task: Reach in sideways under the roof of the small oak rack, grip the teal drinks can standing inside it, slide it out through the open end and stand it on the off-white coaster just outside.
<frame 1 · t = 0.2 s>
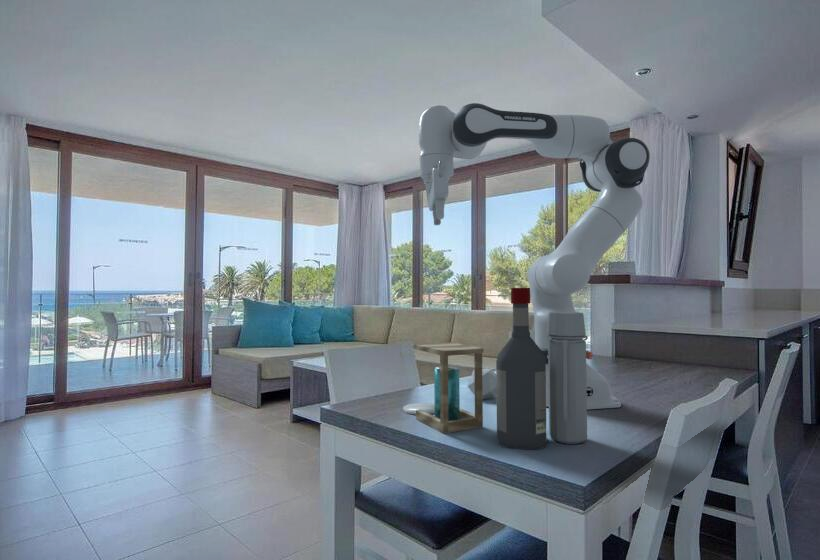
hand: (438, 221, 123), 47 cm above the table, tool pointing down, fingers open, 8 cm apart
water bottle: (567, 441, 92), on the table
liquor: (521, 442, 91), on the table
can: (447, 422, 105), on the table
die: (484, 398, 128), on the table
coaster: (421, 410, 116), on the table
rack: (447, 422, 105), on the table
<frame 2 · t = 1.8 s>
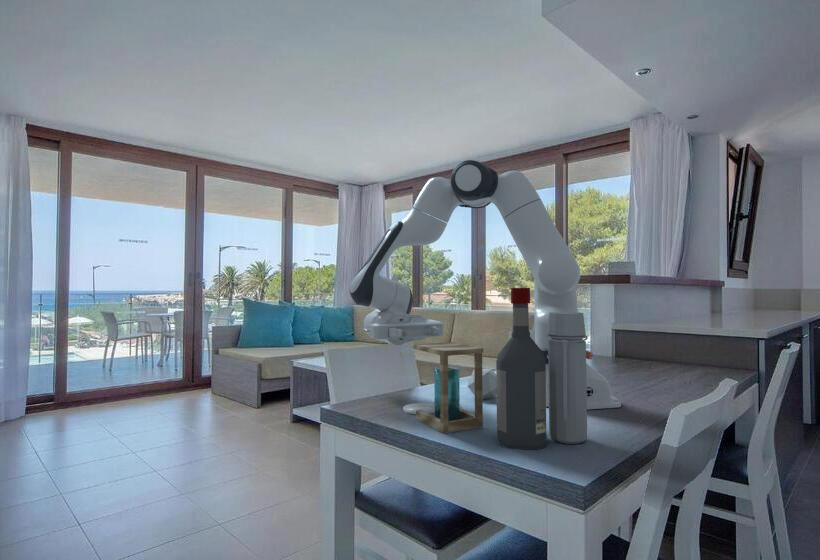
hand: (420, 332, 116), 19 cm above the table, tool horizontal, fingers open, 8 cm apart
nothing on the table moved.
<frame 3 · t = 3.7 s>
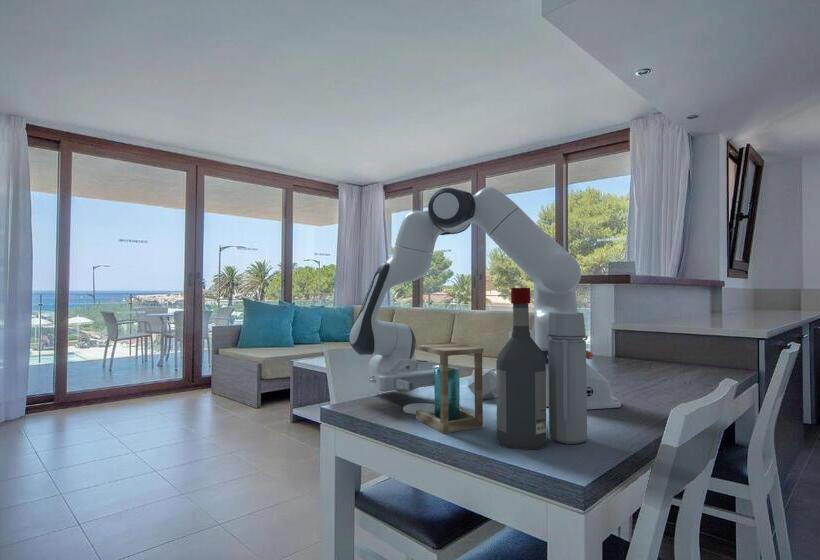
hand: (427, 384, 113), 7 cm above the table, tool horizontal, fingers open, 8 cm apart
nothing on the table moved.
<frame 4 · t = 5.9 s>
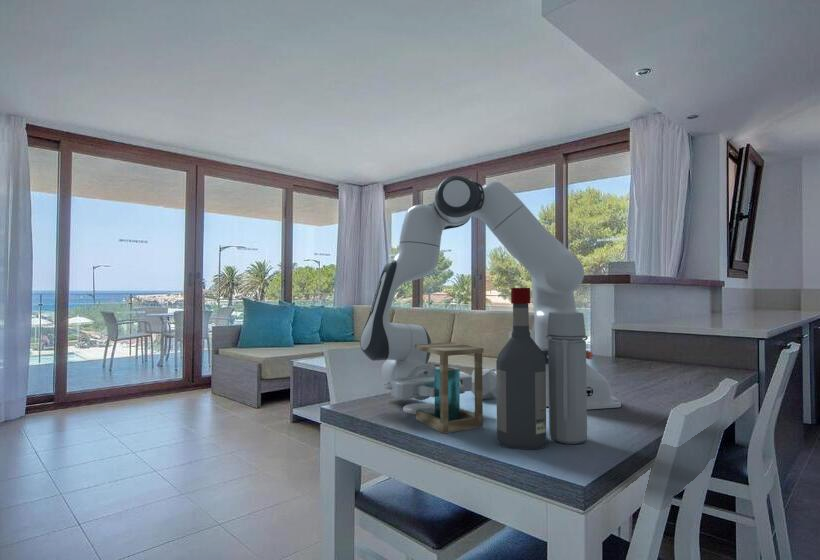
hand: (449, 391, 104), 7 cm above the table, tool horizontal, fingers closed on can, 6 cm apart
can: (447, 422, 105), on the table, touching gripper
everything else where it was.
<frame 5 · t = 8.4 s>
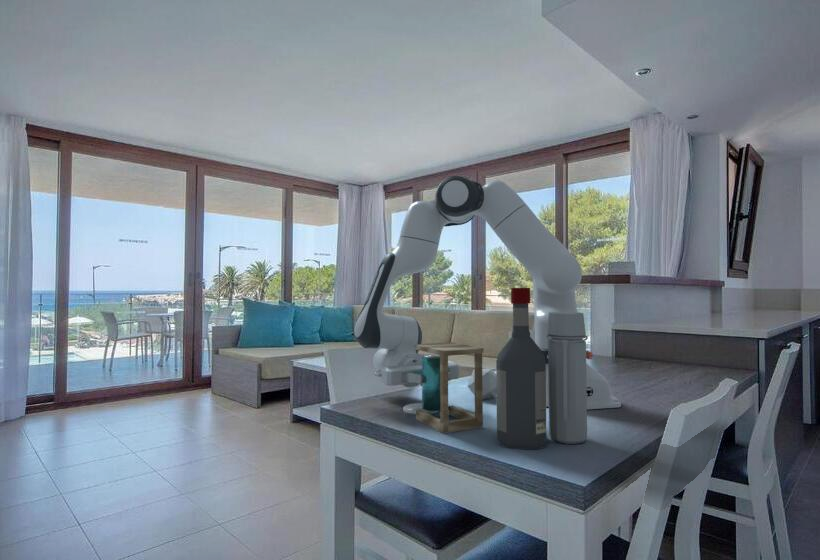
hand: (435, 378, 109), 9 cm above the table, tool horizontal, fingers closed on can, 6 cm apart
can: (433, 407, 110), point 2 cm above the table, touching gripper
everything else where it was.
when the fingers open (8 cm above the table, at t = 10.7 s): can stays where it is, resting on coaster.
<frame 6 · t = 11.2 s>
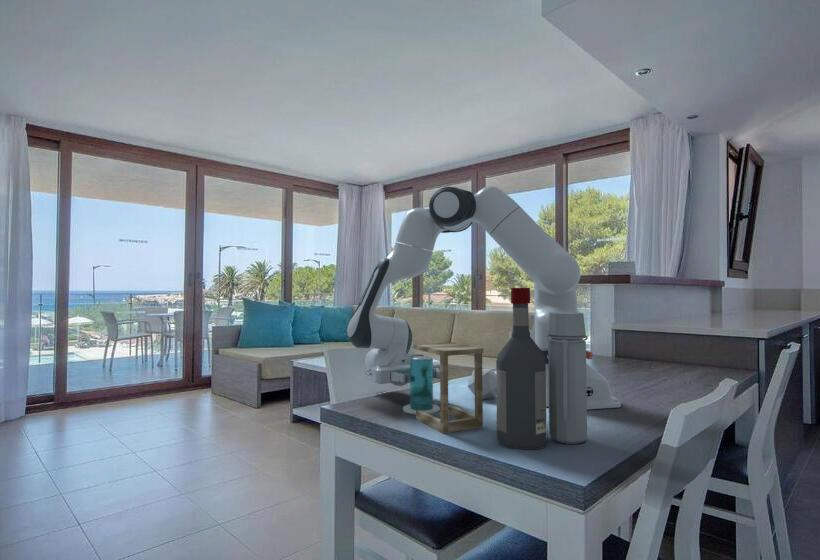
hand: (422, 376, 115), 8 cm above the table, tool horizontal, fingers open, 8 cm apart
can: (421, 407, 116), point 1 cm above the table, touching coaster
everything else where it was.
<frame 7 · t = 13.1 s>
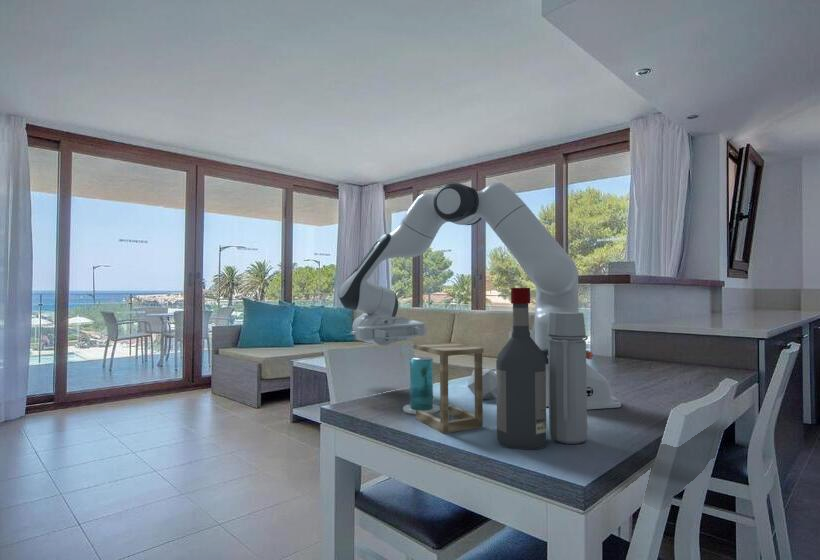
hand: (402, 332, 126), 18 cm above the table, tool horizontal, fingers open, 8 cm apart
nothing on the table moved.
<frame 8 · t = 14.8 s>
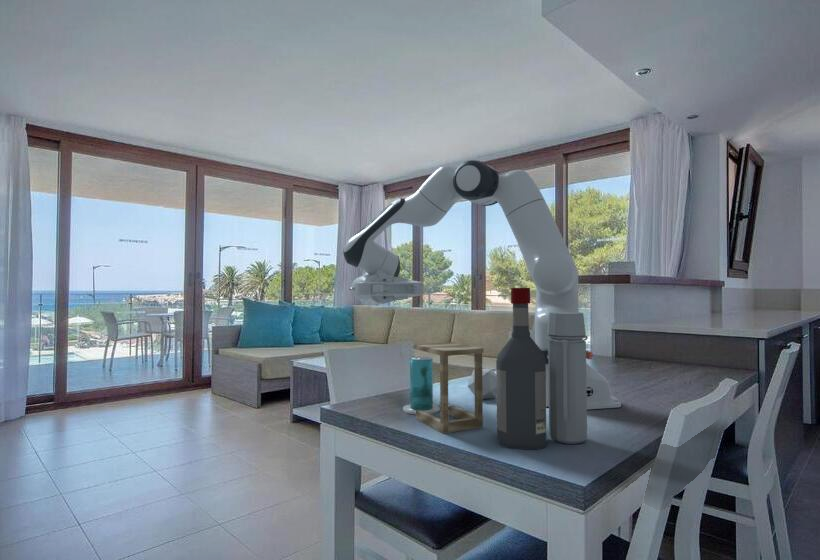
hand: (400, 288, 126), 30 cm above the table, tool horizontal, fingers open, 8 cm apart
nothing on the table moved.
at the end: can inside the target area on the coaster (0.1 cm from its centre), point 0.6 cm above the coaster's base; can tilted 0°; the gripper is holding nothing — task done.
